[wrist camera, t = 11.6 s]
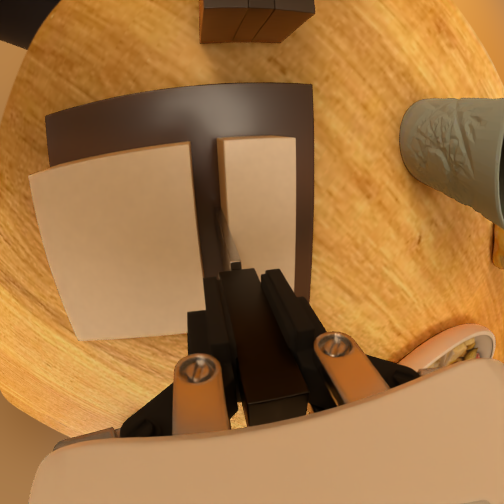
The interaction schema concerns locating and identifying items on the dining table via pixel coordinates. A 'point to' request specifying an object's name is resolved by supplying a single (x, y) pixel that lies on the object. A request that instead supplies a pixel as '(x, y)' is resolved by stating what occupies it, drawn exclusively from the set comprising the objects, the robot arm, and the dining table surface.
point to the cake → (123, 241)
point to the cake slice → (260, 200)
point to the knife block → (251, 19)
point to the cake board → (201, 144)
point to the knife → (258, 342)
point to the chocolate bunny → (498, 247)
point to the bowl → (452, 347)
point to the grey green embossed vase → (458, 150)
